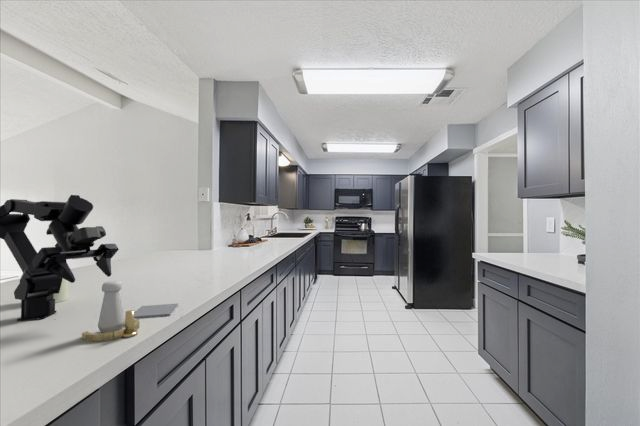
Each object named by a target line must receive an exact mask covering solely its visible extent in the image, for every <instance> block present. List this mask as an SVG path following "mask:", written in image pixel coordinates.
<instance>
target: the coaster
mask: <svg viewBox="0 0 640 426" xmlns="http://www.w3.org/2000/svg"><path fill="white" fill-rule="evenodd" d="M178 306H179V302H177V303H166V304H165V303H164V304H162V303H161V304H151V305H141V306H140V307H139V308H137V310H134V318H136V319H146V318H147V319H149V318H157V317H158V318H159V317H160V318H161V317H170V316H171V315H172V314H171V313H174V311H175V310H176V309H175V308H178Z"/></svg>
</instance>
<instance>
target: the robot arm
mask: <svg viewBox="0 0 640 426" xmlns="http://www.w3.org/2000/svg"><path fill="white" fill-rule="evenodd" d="M93 209H94V204H93V203H92V202H91V201H88V200H87V199H84V198H83V197H81V195H78V194H71V195H69V197H68V199H67V201H65V202H64V201H45V200H44V201H30V200H28V199H18V198H17V199H16V198H10V199H7V200H6V201H5V202H4V203H3V204H2V205H0V239H2V240H4V242H5V244H6V246H7V247H8V249H9V251H10V252H11V254H12V256H13V257H14V259H15V261H16V263H17V265H18V266H19V268H20V270H21V271H22V274H21V276H20V279H19V284H18V285H17V287H16V288H15V289H14V291H13V295H14V299H15V300H18V301H19V300H20V303H21V305H20V316H19V317H18V318H16V321H30V320H31V321H32V320H43V319H45V318H48V317H49V316H51V315H54V314H56V313H57V310H56V303H55V299H53V294H57V293H59V291H60V287H61V283H62V278H63V279H65V280H67V281H68V283H71V284H73V283H75V281H76V278H75V275H74V273H73V272H72V269H71V268H70V266H69V263H68V262H67V260H78V259H89V258H93V261H95V265H96V266H97V267H98V268H99V269H100V270H101V272H102V273H103V274H104V275H105V276H106V277H111V276H112V266H111V265H112V263H111V261H112V258H113V257H114V256H115V255H116V254H117V252H118V251H119V247H118V246H117V244H116V243H101V244H100V245H99V246H98V248H96V249H91V247H92V248H93V246H94V245H95V242H96V241H97V240H101V239H102V238H104V237H106V236H107V235H106V234H107V232H106V229H105V228H104V227H103V226H101V225H99V226H98V225H97V226H90V227H89V226H84V227H80V228H79V227H78V225H81V224H83V223H84V222H85V220H86V219H87V218H88V217H89V215H90V213H91V212H92V211H93ZM31 215H32V216H33V218H34V219H36V220H38V221H40V222H50V223H49V224H48V228H47V230H46V235H47V236H48V235H52V236H53V238H54V240H55V241H56V244H55V245H54V246H48V247H41V248H40V249H39V251H38V252H37V250H36V249H35V247H34V245H33V244H32V242H31V240H30V239H29V238H28V235H27V234H26V233H25V230H26V228H27V226H28V223H29V221H31V218H30V216H31Z"/></svg>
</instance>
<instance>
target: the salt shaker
mask: <svg viewBox="0 0 640 426" xmlns="http://www.w3.org/2000/svg"><path fill="white" fill-rule="evenodd" d="M122 288H123V283H122V282H121V281H120V280H110V281H106V282H104V283H102V286H101V291H102V292H103V293H104V294H103V298H102V304H101V308H100V314H99V317H98V318H99V319H98V323H97V328H98V330H99V333H106V332H113V331H117V330H121V329H124V325H125V312H124V308H123V304H122V299H121V293H120V291H121V290H122Z"/></svg>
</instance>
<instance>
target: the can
mask: <svg viewBox="0 0 640 426" xmlns="http://www.w3.org/2000/svg"><path fill="white" fill-rule="evenodd" d="M68 287H69V281H67V280H65V279H63V278H62V283H61V287H60V291H59V293H57V294H53V299H55V304H57V302H58V303H60V302H62V303H63V302H65V301H67V300H68V299H69V288H68Z"/></svg>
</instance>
